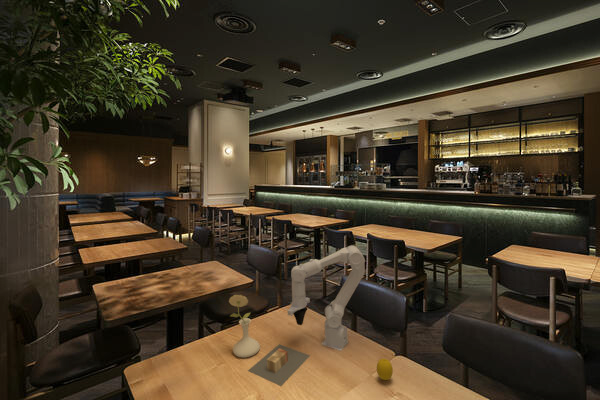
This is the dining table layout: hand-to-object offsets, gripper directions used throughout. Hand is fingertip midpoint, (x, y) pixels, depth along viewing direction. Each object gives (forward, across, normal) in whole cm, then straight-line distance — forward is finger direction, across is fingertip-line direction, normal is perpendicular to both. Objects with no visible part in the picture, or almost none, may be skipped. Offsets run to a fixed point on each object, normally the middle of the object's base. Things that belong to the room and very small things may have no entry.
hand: (299, 324), depth 128 cm
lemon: (+10, +3, +38) cm, 39 cm away
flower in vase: (+10, +16, -18) cm, 26 cm away
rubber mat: (+9, +15, 0) cm, 18 cm away
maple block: (+7, +12, 0) cm, 14 cm away
